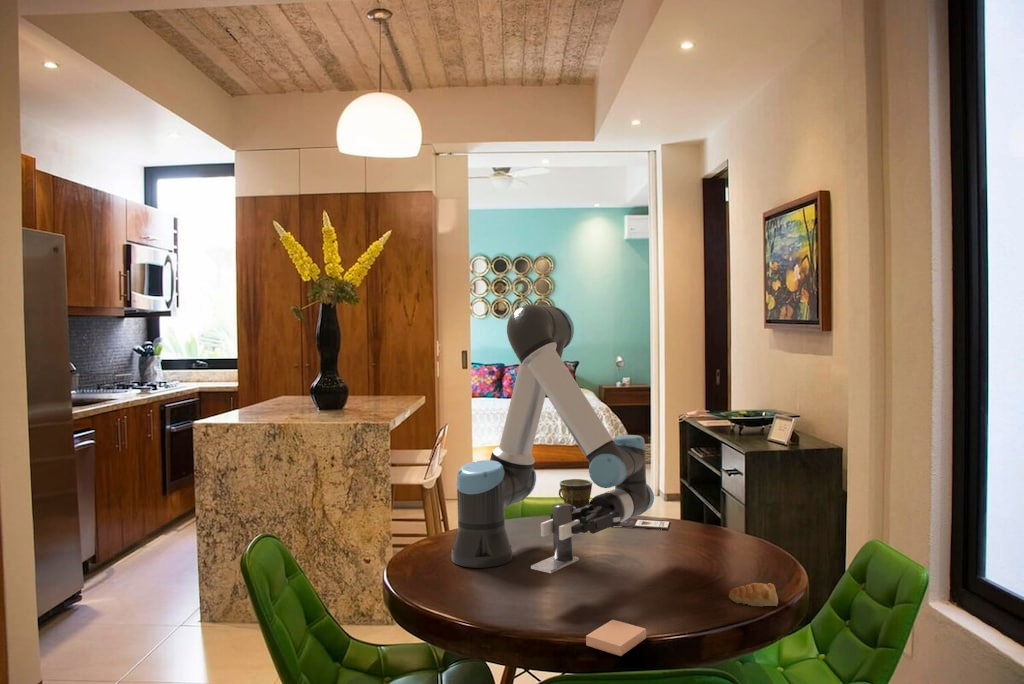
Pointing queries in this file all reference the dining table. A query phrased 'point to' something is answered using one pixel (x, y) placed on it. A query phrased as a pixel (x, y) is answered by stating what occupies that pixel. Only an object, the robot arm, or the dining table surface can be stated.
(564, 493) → the ceramic cup
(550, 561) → the metal post on base
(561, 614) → the dining table surface
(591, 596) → the dining table surface
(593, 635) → the tile
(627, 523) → the chocolate bar
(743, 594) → the pastry
